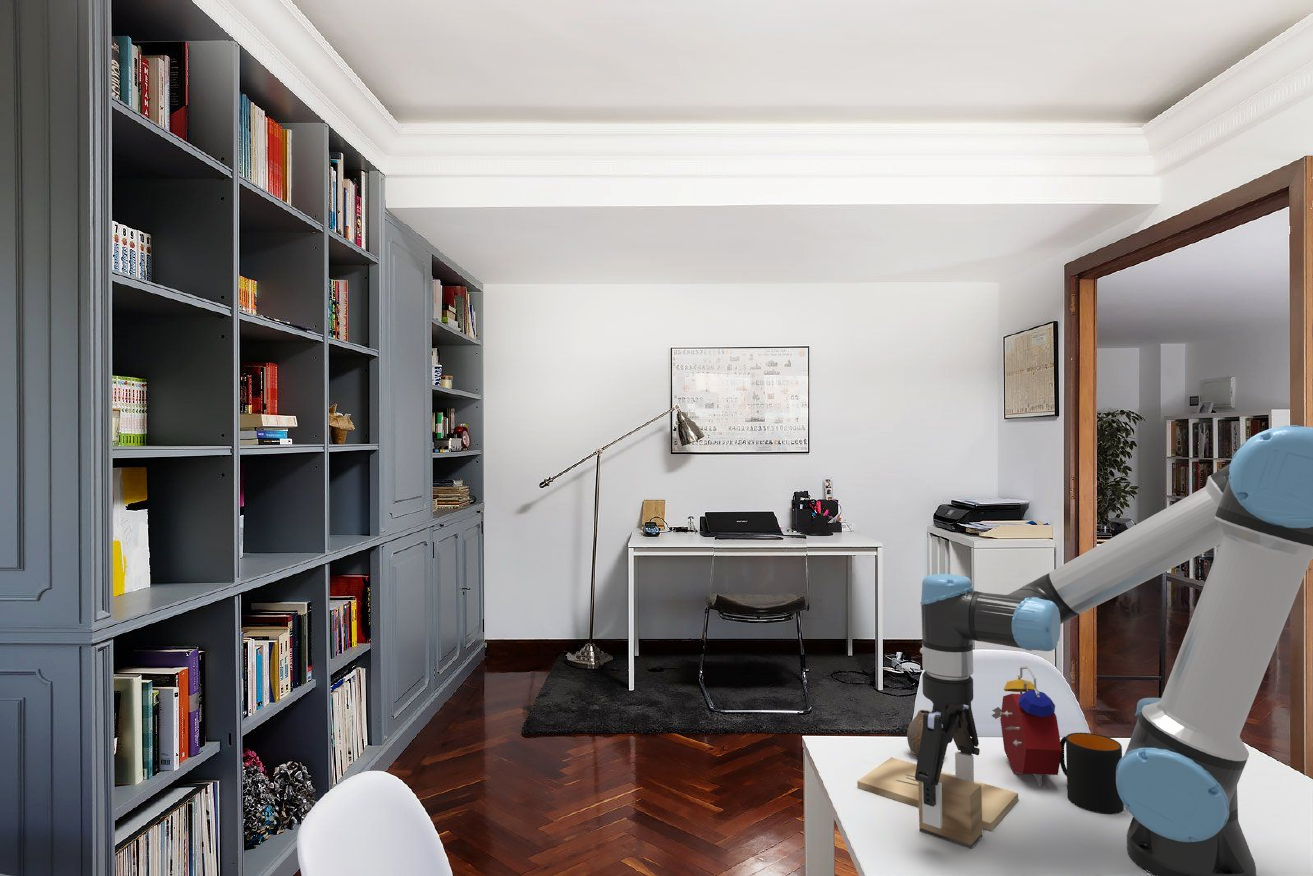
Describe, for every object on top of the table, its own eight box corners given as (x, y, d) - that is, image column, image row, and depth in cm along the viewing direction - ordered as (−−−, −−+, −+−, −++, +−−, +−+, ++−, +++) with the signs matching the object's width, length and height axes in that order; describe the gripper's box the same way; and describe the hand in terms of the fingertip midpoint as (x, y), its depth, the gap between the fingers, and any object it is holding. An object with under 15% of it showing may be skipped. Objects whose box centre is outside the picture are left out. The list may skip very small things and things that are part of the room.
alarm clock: (1064, 793, 128) (1061, 678, 128) (1012, 790, 129) (1009, 676, 130) (1034, 759, 142) (1031, 656, 143) (987, 756, 144) (985, 655, 144)
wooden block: (982, 836, 113) (981, 784, 114) (971, 849, 110) (969, 795, 110) (931, 819, 119) (930, 770, 119) (919, 831, 115) (918, 780, 115)
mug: (1080, 780, 133) (1079, 723, 133) (1135, 811, 121) (1134, 748, 121) (1041, 784, 131) (1039, 727, 132) (1093, 816, 119) (1091, 752, 120)
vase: (908, 761, 142) (907, 715, 142) (906, 747, 149) (905, 704, 149) (945, 765, 140) (944, 719, 140) (942, 751, 147) (941, 707, 147)
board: (1018, 800, 125) (1018, 793, 125) (991, 831, 115) (991, 823, 115) (891, 763, 141) (891, 757, 141) (857, 787, 131) (857, 781, 131)
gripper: (952, 653, 127) (954, 776, 126) (890, 686, 109) (892, 830, 108) (998, 661, 122) (1000, 789, 121) (940, 697, 103) (942, 848, 103)
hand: (949, 809), depth 115 cm, fingers open, 13 cm apart
